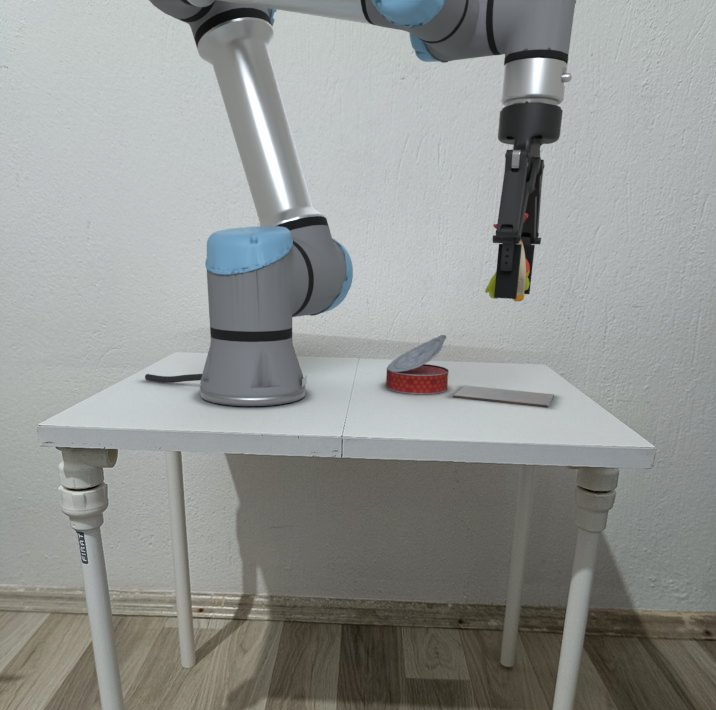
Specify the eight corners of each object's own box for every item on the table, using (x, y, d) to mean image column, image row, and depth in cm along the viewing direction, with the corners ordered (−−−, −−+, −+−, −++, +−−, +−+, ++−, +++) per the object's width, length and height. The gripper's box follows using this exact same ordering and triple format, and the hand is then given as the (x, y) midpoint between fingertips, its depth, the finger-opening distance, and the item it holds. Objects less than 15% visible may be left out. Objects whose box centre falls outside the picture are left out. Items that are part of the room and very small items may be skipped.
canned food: (433, 423, 103) (430, 372, 96) (376, 407, 108) (370, 357, 100) (462, 379, 110) (461, 329, 102) (407, 366, 114) (403, 317, 107)
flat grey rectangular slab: (453, 397, 100) (453, 395, 100) (464, 387, 107) (465, 385, 107) (547, 407, 96) (548, 405, 95) (553, 396, 103) (554, 394, 102)
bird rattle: (539, 318, 88) (524, 285, 94) (559, 236, 80) (541, 206, 87) (492, 317, 87) (480, 284, 94) (508, 235, 80) (494, 205, 86)
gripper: (550, 85, 70) (526, 303, 78) (573, 120, 89) (552, 292, 97) (480, 89, 73) (464, 299, 81) (517, 122, 92) (501, 290, 100)
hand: (512, 295), depth 89 cm, fingers closed on bird rattle, 9 cm apart
